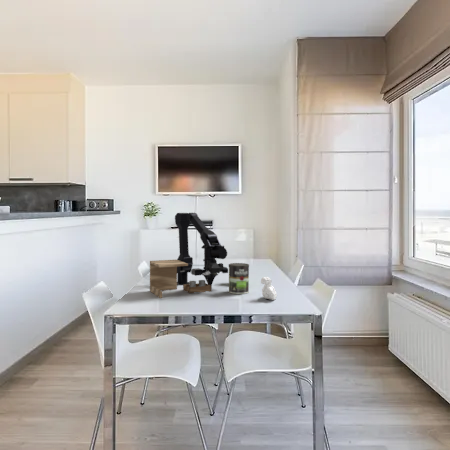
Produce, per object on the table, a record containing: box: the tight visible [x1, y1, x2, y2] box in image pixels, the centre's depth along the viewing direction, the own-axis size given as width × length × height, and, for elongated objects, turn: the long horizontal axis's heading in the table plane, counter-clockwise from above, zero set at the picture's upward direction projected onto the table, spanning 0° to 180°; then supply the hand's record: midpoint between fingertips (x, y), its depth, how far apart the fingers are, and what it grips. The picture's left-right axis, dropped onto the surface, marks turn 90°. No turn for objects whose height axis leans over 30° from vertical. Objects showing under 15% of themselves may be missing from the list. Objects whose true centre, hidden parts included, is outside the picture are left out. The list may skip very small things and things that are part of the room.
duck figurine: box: [260, 276, 278, 301], centre depth 183 cm, size 12×8×11 cm
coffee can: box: [228, 262, 250, 295], centre depth 198 cm, size 10×10×14 cm
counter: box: [149, 259, 188, 299], centre depth 194 cm, size 18×14×15 cm
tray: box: [182, 279, 213, 294], centre depth 201 cm, size 9×12×5 cm
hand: (210, 287), depth 204 cm, fingers closed
